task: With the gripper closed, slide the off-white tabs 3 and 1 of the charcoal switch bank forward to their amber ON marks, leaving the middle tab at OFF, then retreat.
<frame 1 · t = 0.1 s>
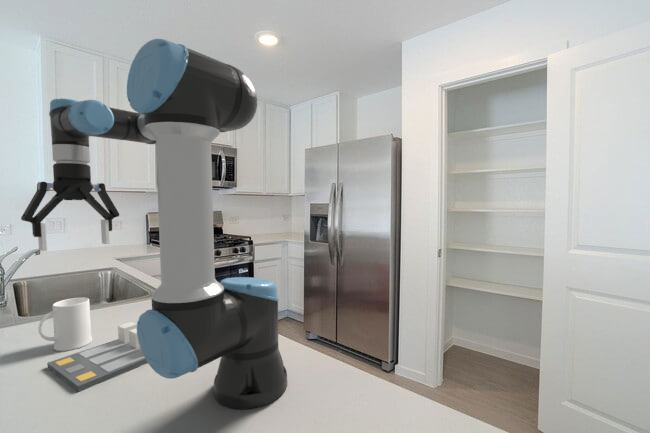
hand: (76, 246, 85), 28 cm above the worktop, fingers open, 13 cm apart
switch bank: (115, 358, 83), on the worktop
tab 1: (151, 342, 84), point 3 cm above the worktop, slide at 0.0 cm
tab 3: (128, 332, 91), point 3 cm above the worktop, slide at 0.0 cm
mug: (66, 347, 90), on the worktop
tab 2: (139, 337, 88), point 3 cm above the worktop, slide at 0.0 cm
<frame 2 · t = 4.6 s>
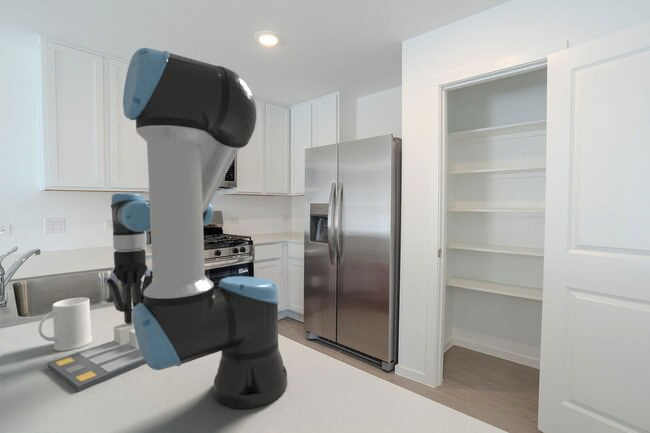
hand: (133, 333, 92), 3 cm above the worktop, fingers closed
tab 3: (123, 333, 90), point 3 cm above the worktop, slide at 1.1 cm, touching gripper
everything else where it was.
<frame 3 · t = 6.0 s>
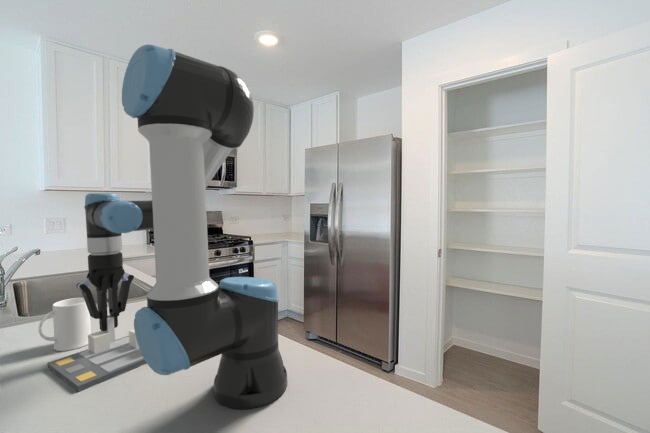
hand: (109, 341, 87), 3 cm above the worktop, fingers closed
tab 3: (98, 341, 85), point 3 cm above the worktop, slide at 7.1 cm, touching gripper
everything else where it was.
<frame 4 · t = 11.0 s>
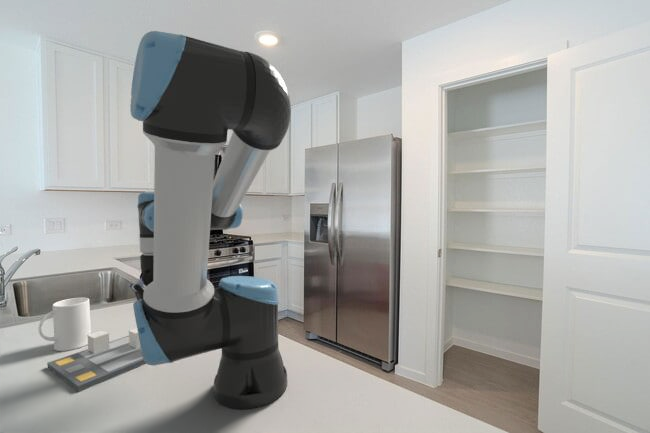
hand: (160, 342, 86), 3 cm above the worktop, fingers closed
tab 1: (150, 342, 84), point 3 cm above the worktop, slide at 0.2 cm, touching gripper
tab 3: (98, 341, 85), point 3 cm above the worktop, slide at 7.2 cm
everything else where it was.
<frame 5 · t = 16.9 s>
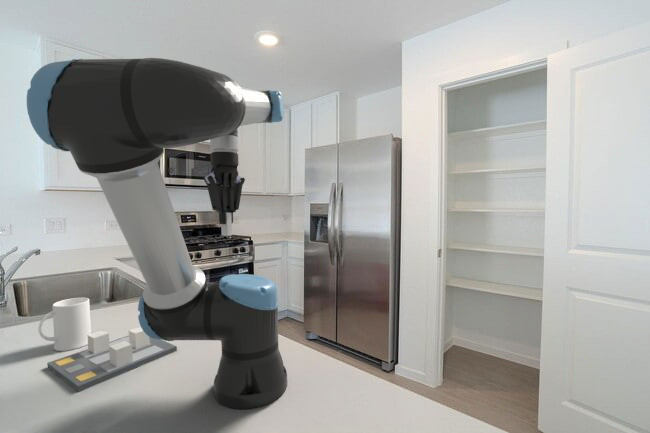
hand: (226, 235, 95), 29 cm above the worktop, fingers closed
tab 1: (121, 353, 78), point 3 cm above the worktop, slide at 7.2 cm
everything else where it was.
at the end: tab 3 slide at 7.2 cm; tab 1 slide at 7.2 cm; tab 2 slide at 0.0 cm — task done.
